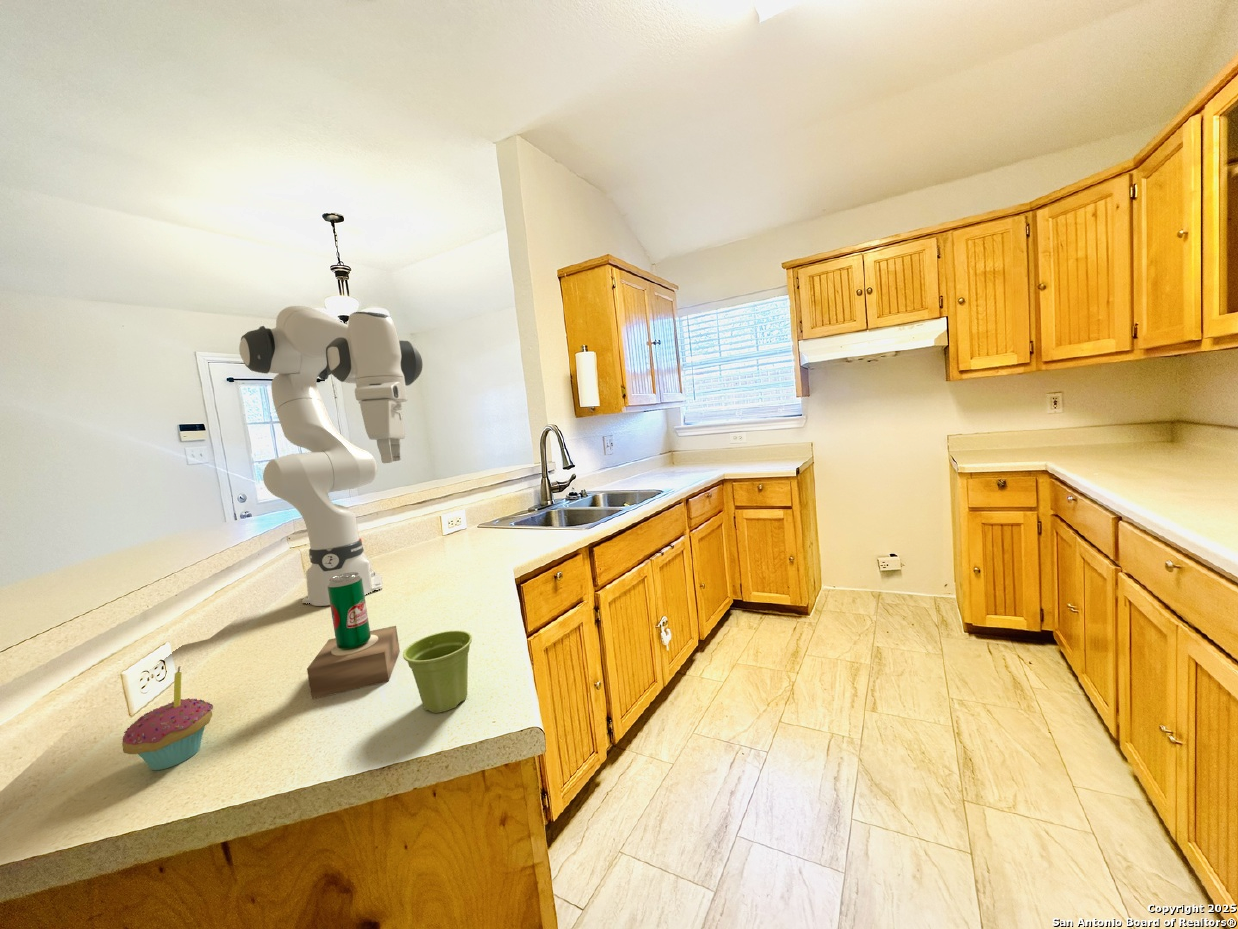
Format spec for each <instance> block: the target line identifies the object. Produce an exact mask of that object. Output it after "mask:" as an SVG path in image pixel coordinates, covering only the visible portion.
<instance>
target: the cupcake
mask: <svg viewBox="0 0 1238 929" xmlns="http://www.w3.org/2000/svg"><path fill="white" fill-rule="evenodd" d="M173 684H174V686H173V700H172V702H168V703H167V704H164V705H162V706H161V705H160V706H159V707H156V708H154V709H152V710H150V711H149V712H147V713H146V712H145V713H144V714H143V715H141V716H140V717H139V718H137V720H135V721H134V722H133V723H131V724H130V725H129V727H127V729H126V730H125V731H124V732H123V733H124V734H123V737H122V739H121V740H122V743H121V744H122V752H123V753H124V754H127V755H137V756H139V757H141V759H142V760H143V761H144V762H145V763H146V764H147V766H148V767H149V768H150V769H151V770H152V771H161V770H165V769H169V768H172V767H174V766H177V765H180V764H182V763H183V762H185V761H187V760H189V759H190V758H191V757H193V756H195V755H196V754H197V753H198V752H199V750H201V749H200V748H201V745H202V739H203V734H204V730H205V729H206V728H205V727H206V726H207V725H209V723H210V722H211V719H212V717H213V711H212V710H213V709H214V704H212V703H210V702H209V701H205V700H203V699H198V698H185V699H183V698H182V671H181V666H180V665H179V666H178V668H177V672H175V673H174V682H173Z"/></svg>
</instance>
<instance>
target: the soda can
mask: <svg viewBox="0 0 1238 929" xmlns="http://www.w3.org/2000/svg"><path fill="white" fill-rule="evenodd" d="M329 581H330V582H329V584H328V594H329V600H330V605H329V606H330V611H331V612H330V613H331V618H332V623H333V625H332V626H333V631H334V636H335V638H336V644H337V647H338V648H339V649H341V650H352V649H355V648H358V647H361V646H363V645H365V644H366V643H367V642H368V641H369V639H370V637H371V634H370V631H371V629H370V622H369V615H368V608H367V603H366V602H367V601H366V597H365V596H366V595H365V594H364V588H363V581H362V578H361V577H360V576H359V573H357V572H351V573H345V574H340V575H337V576H334V577H332V578H330V579H329Z"/></svg>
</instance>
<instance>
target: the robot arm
mask: <svg viewBox="0 0 1238 929" xmlns="http://www.w3.org/2000/svg"><path fill="white" fill-rule="evenodd" d="M238 349H239V351H238V352H239V355H240V358H241V359H242V361H243V365H245V366H246V368H247V369H248V370H250V371H252V372H255V373H260V374H265V375H266V374H267V375H268V374H269V373H270V374H276V375H275V376H274V377H273V378H272V381H271V383H270V384H271V386H270V387H271V397H272V401H273V402H272V403H273V406H274V409H275V412H276V415H277V418H278V421H279V424H280V427H281V431H282V432H283V436H284V437H285V439H286V440H287V441H288V442H290V443H291V444H293V445H295V446H297V447H300V448H302V449H303V448H304V449H306V450H308V451H310V452H302V453H291V454H287V455H284V456H283V455H282V456H279V457H276V458H272V459H270V460H269V461H268V462H267V463H266V465H265V468H264V469H263V472H262V473H263V474H262V478H263V479H262V481H263V483H264V486H265V489H267V490H268V492H270V494H272V495H273V496H275V497H277V498H279V499H281V500H284V501H286V502H287V503H289V504H290V505H291V506H292V507H294V508H295V509H296V510H297V511H298V513H299V514H300V516H301V518H302V519H303V522H304V524H305V528H306V531H307V537H308V540H309V547H310V548H309V549H308V552H309V554H308V557H309V560H310V563H311V565H310V567H308V569H307V570H306V572H305V576H306V577H305V579H306V588H307V589H306V590H307V596H306V597H304V598H302V604H303V603H306V604H307V603H308V604H307V605H312V606H315V607H316V606H317V607H318V606H319V607H322V606H330V600H329V594H328V584H329V582H330V581H329V579H330V578H332V577H334V576H337V575H340V574H345V573H351V572H357V573H359V576H360V577H361V578H362V581H363V588H364V594H365V596H367V595H368V593H369V592H371V591H374V590H376V589H380V588H382V587H383V576H381V575H382V573H376V572H375V571H373V567H372V562H371V559H370V558H369V557H368V556H367V555H366V554H365V553H364V551H365V550H364V544H363V539H362V537H359V529H358V528H359V527H358V522H357V515H356V513H355V512H354V511H353V510H352V509H351V508H349V507H348V506H344V505H340V504H336V503H334V502H332V501H331V498H330V496H329V493H333V492H340V491H348V490H352V489H357V488H359V487H363V486H365V485H368V484H371V483H372V482H374V480H375V478H376V476H377V473H378V464H377V461H376V459H375V457H374V455H373V454H371V453H370V451H368V450H365V449H363V448H362V447H358V446H357V445H355V444H353V443H352V442H350V441H349V440H347V439H346V438H345V437H344V436H343V435H342V434H341V433H340V432H339V430H338V429H337V428H336V426H335V425H334V424H333V422H332V421H333V420H331V417H330V415H329V413H328V410H327V408H326V405H325V401H324V400H323V397H322V395H321V394H320V391H319V389H318V384H317V380H318V378H319V379H320V380H321V381H326V380H328V378H329V376H331V375H332V376H333V377H334V378H335V379H336V380H338V381H339V382H341V383H345V384H346V383H347V384H355V386H356V387H355V388H354V396H355V399H356V401H358V404H360V412H361V415H362V420H363V425H364V429H365V433H366V434H367V436H368V438H369V440H371V441H376V445H377V448H378V451H379V454H380V459H381V462H382V463H383V464H390V463H392V462H398V461H401V460H402V457H401V456H402V455H401V440H404V439H405V438H406V431H405V426H404V425H405V424H404V419H403V414H402V409H403V406H402V403H405V402H408V393H407V388H406V387H407V386H410V385H412V384H413V383H414V382H415V381H416V380H417V379H418V378H419V377H420V375H421V374H422V370H423V366H424V365H423V359H422V355H421V354H420V352H419V350H418V349H417V348H416V347H415V345H414V344H412V343H411V342H410V341H409V340H400V339H399V335H398V331H397V328H396V324H395V322H394V320H393V318H392V317H390V316H389V315H387V314H384V313H380V312H371V311H368V312H367V311H355V312H352V313H351V314H349V315H348V324H346V323H344V322H343V321H341V320H337V319H335V318H334V317H331V316H330V315H328V314H325V313H324V312H321V311H320V310H317V309H315V308H311V307H308V306H303V305H290V306H288V307H285V308H283V309H282V310H281V311H280V312H279V313H278V315H277V316H276V325H275V327H274V328H268V327H267V328H266V326H264V325H262V326H261V325H260V326H259V327H258V328H257V329H252V330H249V331H247V332H245V333H244V334H243V335H242V336H241V338H240V342H239V346H238ZM381 577H382V578H381ZM382 589H383V588H382ZM380 590H381V589H380ZM371 593H372V592H371ZM366 594H367V595H366ZM369 594H370V593H369ZM309 603H310V604H309Z"/></svg>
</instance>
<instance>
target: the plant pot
mask: <svg viewBox="0 0 1238 929" xmlns="http://www.w3.org/2000/svg"><path fill="white" fill-rule="evenodd" d="M472 640H473V636H472V634H471V633H470V632H468V631H464V630H446V631H440V632H437V633H434V634H430V635H427V636H424V637H422V638H420V639H418V640H416V641H414V642H412V643H411V644H409V645H408V646H407V647H406V648H405V649H404V650H403V654H402V656H403V659H404V661H405V662H407V665H408V667H409V669H411V671H412V674H413V677H414V680H415V683H416V688H417V689H418V693H419V696H420V700H421V703H422V707H423V709H424V711H426V712H427V711H430V712H432V713H442V712H443V713H444V712H447V711H450V710H452V709H454V708H456V707H457V706H458V705H459V704H460V703H461V702H463V701H465V700H466V699H467V697H468V679H469V678H468V674H469V672H468V669H469V666H468V665H469V652H470V645H471V644H472Z"/></svg>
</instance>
